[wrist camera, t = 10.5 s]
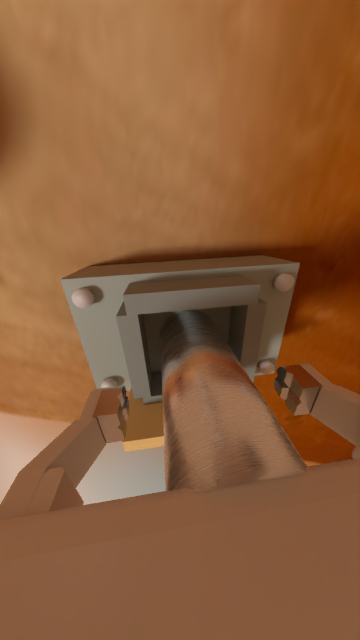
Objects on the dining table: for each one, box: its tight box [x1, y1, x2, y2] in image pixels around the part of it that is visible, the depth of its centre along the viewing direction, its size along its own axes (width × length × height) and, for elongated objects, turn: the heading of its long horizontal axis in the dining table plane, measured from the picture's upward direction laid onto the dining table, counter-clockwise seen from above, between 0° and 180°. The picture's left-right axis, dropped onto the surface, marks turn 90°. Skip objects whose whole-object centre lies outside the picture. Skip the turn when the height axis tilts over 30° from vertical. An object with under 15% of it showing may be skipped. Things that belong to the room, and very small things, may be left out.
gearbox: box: [60, 255, 300, 452], centre depth 14 cm, size 10×16×10 cm, turn 93°
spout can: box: [160, 310, 307, 493], centre depth 9 cm, size 4×4×11 cm
